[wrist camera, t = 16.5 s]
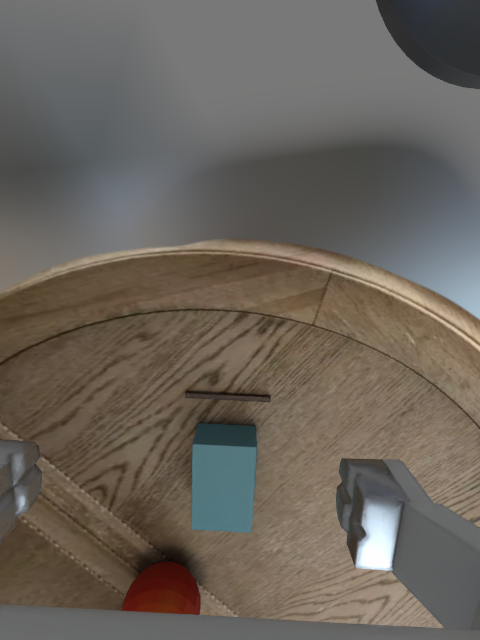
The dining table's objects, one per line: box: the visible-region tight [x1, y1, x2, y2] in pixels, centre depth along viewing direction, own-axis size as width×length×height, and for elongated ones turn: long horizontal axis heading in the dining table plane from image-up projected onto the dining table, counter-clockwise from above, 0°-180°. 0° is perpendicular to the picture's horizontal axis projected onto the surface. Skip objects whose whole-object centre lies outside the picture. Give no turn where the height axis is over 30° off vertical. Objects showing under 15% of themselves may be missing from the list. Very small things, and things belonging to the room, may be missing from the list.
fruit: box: [121, 561, 200, 615], centre depth 41 cm, size 10×10×10 cm
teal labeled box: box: [191, 423, 257, 533], centre depth 40 cm, size 11×7×4 cm, turn 177°
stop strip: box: [185, 391, 271, 402], centre depth 40 cm, size 1×10×1 cm, turn 87°
